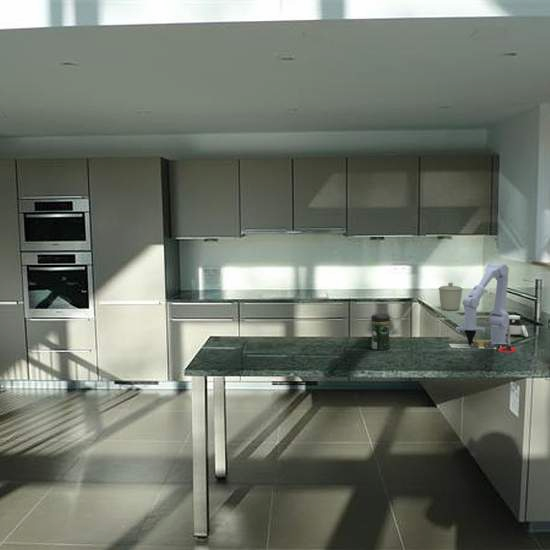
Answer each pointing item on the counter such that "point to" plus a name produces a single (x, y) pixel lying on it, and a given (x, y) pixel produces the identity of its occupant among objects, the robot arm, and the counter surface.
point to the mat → (464, 346)
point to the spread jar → (516, 326)
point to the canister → (450, 296)
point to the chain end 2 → (490, 345)
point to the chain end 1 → (474, 345)
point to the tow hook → (508, 344)
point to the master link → (480, 342)
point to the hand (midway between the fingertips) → (469, 344)
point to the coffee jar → (380, 332)
